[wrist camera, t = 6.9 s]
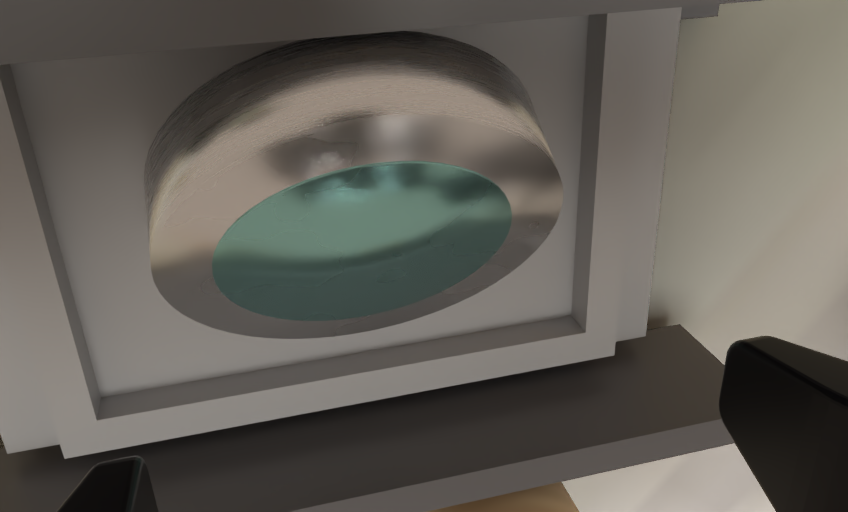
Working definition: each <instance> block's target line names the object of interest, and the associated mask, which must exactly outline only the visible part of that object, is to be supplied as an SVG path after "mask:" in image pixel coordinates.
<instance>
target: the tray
mask: <svg viewBox="0 0 848 512" xmlns="http://www.w3.org/2000/svg"><path fill="white" fill-rule="evenodd" d="M681 11H682V7H677V8H665V9H654V10H642V11H630V12H618V13H607V14H595V15H583V16H571V17H559V18H548V19H536V20H524V21H512V22H501V23H489V24H477V25H465V26H453V27H442V28H430V29H418V30H406V31H414V32H423V33H428V34H433V35H439V36H444V37H448V38H451V39H454V40H458V41H461V42H464V43H467V44H470V45H472V46H474V47H476V48H478V49H480V50H482V51H484V52H486V53H488V54H490V55H492V56H493V57H495V58H496V59H498V60H499V61H500V62H502V63H503V64H505V65H506V66H507V67H508V68H509V69H510V70H511V71H512V72H513V73H514V74H515V75H516V76H517V77H518V78H519V79H520V81H521V82H522V84H523V86H524V87H525V89H526V90H527V92H528V94H529V96H530V99H531V102H532V104H533V107H534V110H535V112H536V115H537V117H538V120H539V123H540V125H541V128H542V130H543V133H544V136H545V138H546V141H547V143H548V146H549V149H550V151H551V154H552V157H553V159H554V162H555V164H556V167H557V170H558V172H559V175H560V178H561V181H562V184H563V202H562V207H561V212H560V214H559V217H558V219H557V222H556V224H555V226H554V227H553V229H552V231H551V232H550V234H549V235H548V237H547V238H546V239H545V241H544V242H543V243H542V244H541V245H540V247H539V248H538V249H537V250H536V251H535V252H534V253H533V254H532V255H531V256H530V257H529V258H528V259H527V260H526V261H525V262H524V263H522V264H521V265H520V266H518V267H517V268H516V269H515V270H513V271H512V272H511V273H510V274H508V275H507V276H505V277H504V278H502V279H501V280H499V281H498V282H496V283H494V284H493V285H491V286H489V287H488V288H486V289H484V290H482V291H481V292H479V293H477V294H475V295H473V296H471V297H469V298H467V299H465V300H463V301H461V302H459V303H457V304H454V305H452V306H449V307H447V308H445V309H442V310H440V311H437V312H434V313H432V314H429V315H426V316H423V317H420V318H417V319H414V320H411V321H407V322H404V323H401V324H397V325H393V326H389V327H385V328H381V329H377V330H372V331H366V332H361V333H356V334H349V335H342V336H335V337H323V338H309V339H274V338H262V337H251V336H245V335H240V334H234V333H229V332H226V331H222V330H218V329H214V328H211V327H209V326H206V325H204V324H201V323H198V322H196V321H194V320H192V319H190V318H189V317H187V316H185V315H183V314H181V313H180V312H179V311H177V310H176V309H175V308H173V307H172V306H171V305H170V304H169V303H168V302H167V301H166V300H165V299H164V298H163V296H162V295H161V294H160V292H159V291H158V289H157V287H156V285H155V283H154V281H153V276H152V272H151V266H150V253H149V241H148V228H147V216H146V204H145V191H144V165H145V161H146V158H147V154H148V150H149V147H150V145H151V143H152V141H153V139H154V137H155V135H156V134H157V132H158V130H159V128H160V127H161V126H162V124H163V123H164V122H165V121H166V119H167V118H168V117H169V115H170V114H171V113H172V112H173V111H174V110H175V109H176V108H177V107H178V106H179V105H180V104H181V103H182V102H183V101H184V100H185V99H186V98H187V97H188V96H189V95H190V94H192V93H193V92H194V91H196V90H197V89H198V88H200V87H201V86H202V85H204V84H205V83H206V82H208V81H209V80H210V79H212V78H214V77H215V76H217V75H219V74H221V73H222V72H224V71H226V70H227V69H229V68H231V67H233V66H234V65H236V64H238V63H241V62H243V61H245V60H247V59H250V58H252V57H254V56H256V55H259V54H261V53H263V52H266V51H269V50H272V49H275V48H278V47H281V46H284V45H287V44H290V43H293V42H296V41H301V40H305V39H300V40H288V41H277V42H265V43H253V44H241V45H230V46H218V47H206V48H194V49H182V50H171V51H159V52H147V53H135V54H124V55H112V56H100V57H88V58H76V59H65V60H53V61H41V62H29V63H18V64H6V65H0V435H1V438H2V440H3V443H4V446H5V448H0V512H56V511H57V510H58V509H59V507H60V506H61V505H62V504H63V502H64V501H65V500H66V499H67V498H68V496H69V495H70V494H71V493H72V491H73V490H74V489H75V488H76V487H77V485H78V484H79V483H80V482H81V480H82V479H83V478H84V477H85V476H86V474H87V473H88V472H89V471H90V469H91V468H92V467H93V466H95V465H96V464H98V463H100V462H104V461H109V460H114V459H119V458H125V457H130V456H140V457H142V458H143V460H144V461H145V463H146V465H147V468H148V472H149V476H150V480H151V484H152V488H153V492H154V496H155V500H156V504H157V507H158V511H159V512H427V511H432V510H436V509H441V508H445V507H450V506H454V505H459V504H463V503H468V502H472V501H477V500H481V499H486V498H490V497H495V496H499V495H504V494H508V493H512V492H517V491H521V490H526V489H530V488H535V487H539V486H544V485H548V484H553V483H557V482H562V481H566V480H571V479H575V478H580V477H584V476H589V475H593V474H598V473H602V472H607V471H611V470H616V469H620V468H625V467H629V466H634V465H638V464H643V463H647V462H652V461H656V460H661V459H665V458H670V457H674V456H679V455H683V454H688V453H692V452H696V451H701V450H705V449H710V448H714V447H719V446H723V445H728V444H732V443H735V442H734V441H733V439H732V437H731V436H730V434H729V432H728V431H727V429H726V427H725V425H724V423H723V421H722V419H721V416H720V411H719V397H720V391H721V385H722V379H723V373H724V367H725V366H724V365H723V364H722V363H721V362H720V361H719V360H718V359H717V358H716V357H715V356H714V355H713V354H711V353H710V352H709V351H708V350H707V349H706V348H705V347H704V346H703V345H702V344H701V343H700V342H698V341H697V340H696V339H695V338H694V337H693V336H692V335H691V334H690V333H689V332H688V331H687V330H685V329H684V328H683V327H682V326H681V325H680V324H679V325H673V326H668V327H662V328H657V329H651V330H647V321H648V312H649V303H650V294H651V284H652V275H653V266H654V257H655V248H656V239H657V230H658V221H659V211H660V202H661V193H662V184H663V175H664V166H665V157H666V148H667V139H668V129H669V120H670V111H671V102H672V93H673V84H674V75H675V66H676V56H677V47H678V38H679V29H680V20H681Z"/></svg>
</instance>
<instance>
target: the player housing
mask: <svg viewBox="0 0 848 512" xmlns="http://www.w3.org/2000/svg"><path fill="white" fill-rule="evenodd" d="M748 1H760V0H0V65H6V64H18V63H29V62H41V61H53V60H65V59H76V58H88V57H100V56H112V55H124V54H135V53H147V52H159V51H171V50H182V49H194V48H206V47H218V46H230V45H241V44H253V43H265V42H277V41H288V40H300V39H312V38H324V37H336V36H347V35H359V34H371V33H383V32H394V31H406V30H418V29H430V28H442V27H453V26H465V25H477V24H489V23H501V22H512V21H524V20H536V19H548V18H559V17H571V16H583V15H595V14H607V13H618V12H630V11H642V10H654V9H665V8H677V7H682V11H681V19H691V18H702V17H713V16H718V10H719V4H724V3H736V2H748Z"/></svg>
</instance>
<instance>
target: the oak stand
mask: <svg viewBox="0 0 848 512" xmlns="http://www.w3.org/2000/svg"><path fill="white" fill-rule="evenodd" d="M427 512H579V511H578V509H577V507H576V506H575V504H574V502H573V501H572V499H571V497H570V496H569V494H568V492H567V491H566V489H565V487H564V486H563V484H562V482H557V483H553V484H548V485H544V486H539V487H535V488H530V489H526V490H521V491H517V492H512V493H508V494H504V495H499V496H495V497H490V498H486V499H481V500H477V501H472V502H468V503H463V504H459V505H454V506H450V507H445V508H441V509H436V510H432V511H427Z"/></svg>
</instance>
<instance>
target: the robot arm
mask: <svg viewBox="0 0 848 512" xmlns="http://www.w3.org/2000/svg"><path fill="white" fill-rule="evenodd" d="M719 411H720V416H721V419H722V421H723V423H724V425H725V427H726V429H727V431H728V432H729V434H730V436H731V437H732V439H733V441H734V442H735V444H736V446H737V447H738V449H739V451H740V452H741V454H742V456H743V457H744V459H745V461H746V462H747V464H748V466H749V467H750V469H751V471H752V472H753V474H754V476H755V477H756V479H757V481H758V482H759V484H760V486H761V487H762V489H763V491H764V492H765V494H766V496H767V497H768V499H769V501H770V502H771V504H772V506H773V507H774V509H775V511H776V512H848V361H845V360H842V359H839V358H836V357H833V356H830V355H827V354H824V353H821V352H817V351H814V350H811V349H808V348H805V347H802V346H799V345H796V344H793V343H790V342H787V341H784V340H781V339H778V338H775V337H771V336H760V337H754V338H749V339H744V340H739V341H736V342H735V343H733V344H732V345H731V346H730V348H729V349H728V352H727V355H726V361H725V367H724V373H723V379H722V385H721V391H720V397H719ZM56 512H159V511H158V507H157V504H156V500H155V496H154V492H153V488H152V484H151V480H150V476H149V472H148V468H147V465H146V463H145V461H144V460H143V458H142V457H140V456H130V457H125V458H119V459H114V460H109V461H104V462H100V463H98V464H96V465H95V466H93V467H92V468H91V469H90V471H89V472H88V473H87V474H86V476H85V477H84V478H83V479H82V480H81V482H80V483H79V484H78V485H77V487H76V488H75V489H74V490H73V491H72V493H71V494H70V495H69V496H68V498H67V499H66V500H65V501H64V502H63V504H62V505H61V506H60V507H59V509H58V510H57V511H56Z"/></svg>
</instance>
